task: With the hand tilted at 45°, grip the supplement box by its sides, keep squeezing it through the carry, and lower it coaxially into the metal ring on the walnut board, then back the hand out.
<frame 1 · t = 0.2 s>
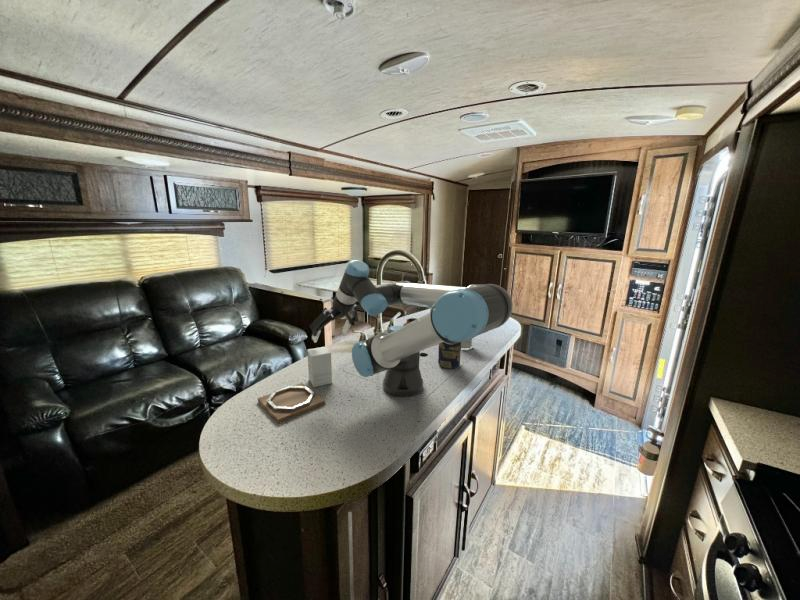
hand: (329, 336, 127), 15 cm above the counter, tool tilted 35°, fingers open, 13 cm apart
french press: (462, 347, 159), on the counter
metal ring: (291, 399, 106), resting on walnut board
walnut board: (291, 403, 107), on the counter
mug: (410, 338, 171), on the counter
canister: (448, 365, 139), on the counter
supplement box: (320, 382, 122), on the counter
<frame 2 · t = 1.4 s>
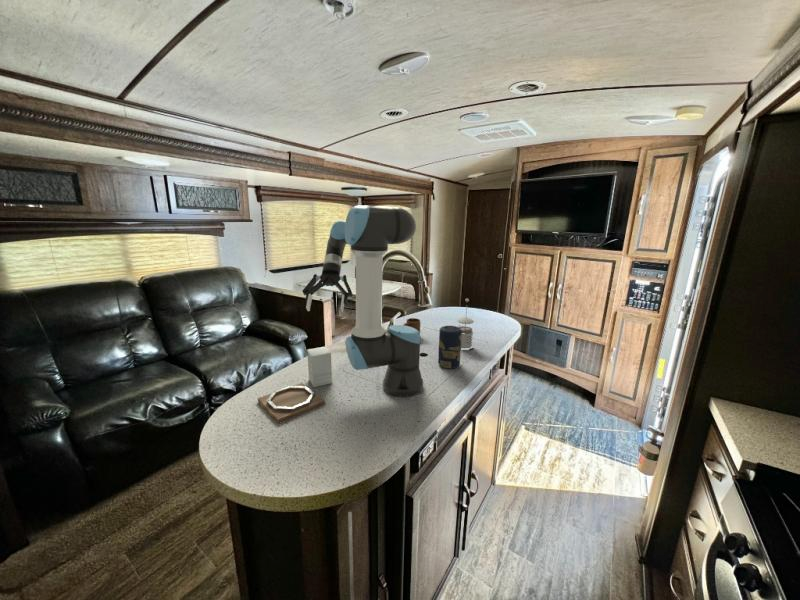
hand: (324, 309, 126), 26 cm above the counter, tool tilted 45°, fingers open, 13 cm apart
nothing on the counter moved.
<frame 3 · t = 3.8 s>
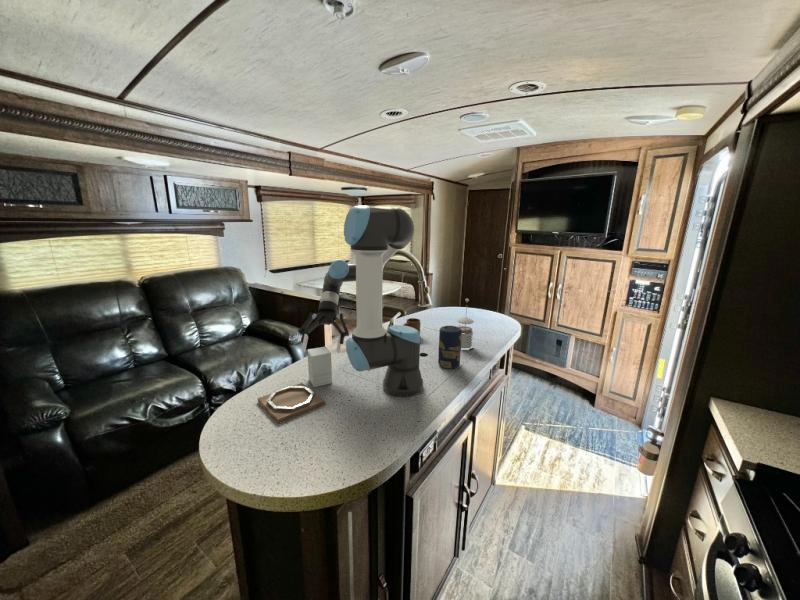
hand: (320, 351, 124), 10 cm above the counter, tool tilted 45°, fingers open, 13 cm apart
nothing on the counter moved.
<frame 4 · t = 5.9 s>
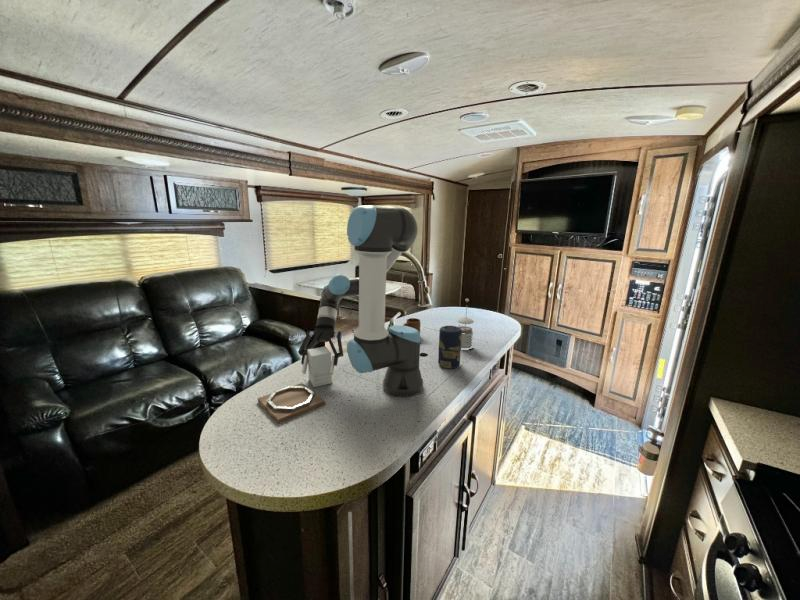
hand: (317, 373, 118), 5 cm above the counter, tool tilted 45°, fingers closed on supplement box, 10 cm apart
supplement box: (320, 381, 122), on the counter, touching gripper
everything else where it was.
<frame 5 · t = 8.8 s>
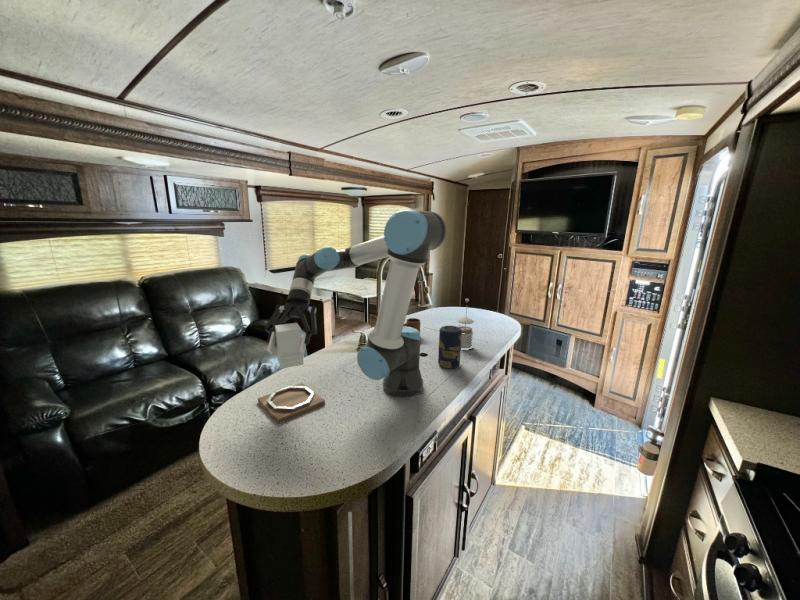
hand: (285, 352, 101), 19 cm above the counter, tool tilted 45°, fingers closed on supplement box, 10 cm apart
supplement box: (290, 363, 106), point 14 cm above the counter, touching gripper
everything else where it was.
when the fingers open (8 cm above the counter, at t = 11.6 s): supplement box drops 1 cm, resting on walnut board.
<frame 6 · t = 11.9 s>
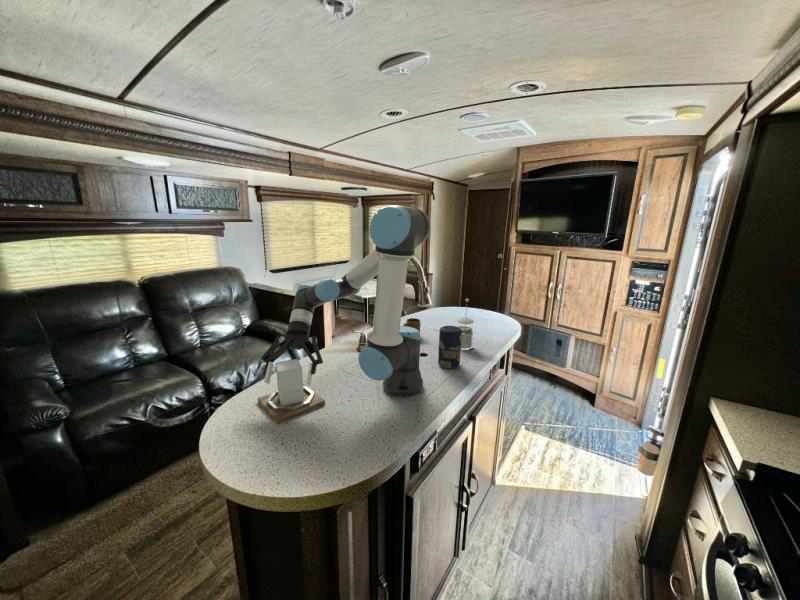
hand: (287, 383, 103), 9 cm above the counter, tool tilted 45°, fingers open, 13 cm apart
supplement box: (291, 399, 107), point 1 cm above the counter, touching walnut board
everything else where it was.
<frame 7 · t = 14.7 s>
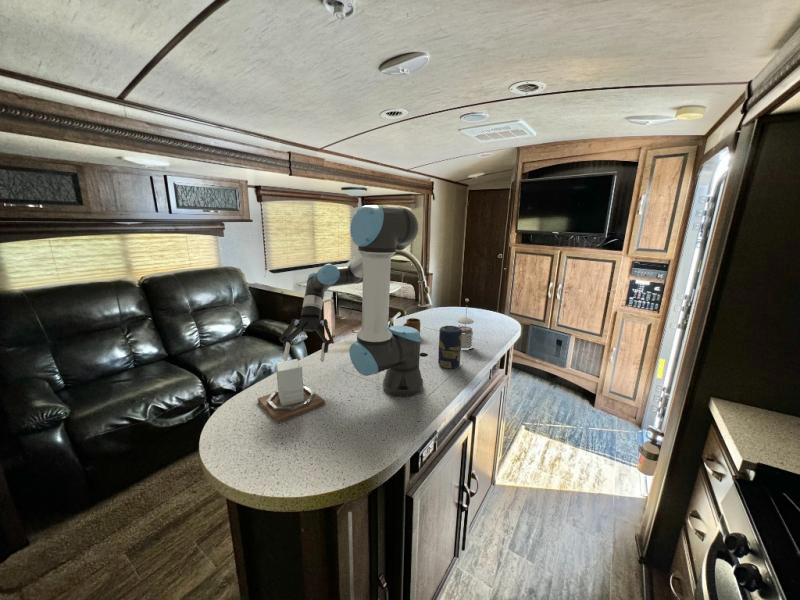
hand: (303, 360, 117), 10 cm above the counter, tool tilted 40°, fingers open, 13 cm apart
nothing on the counter moved.
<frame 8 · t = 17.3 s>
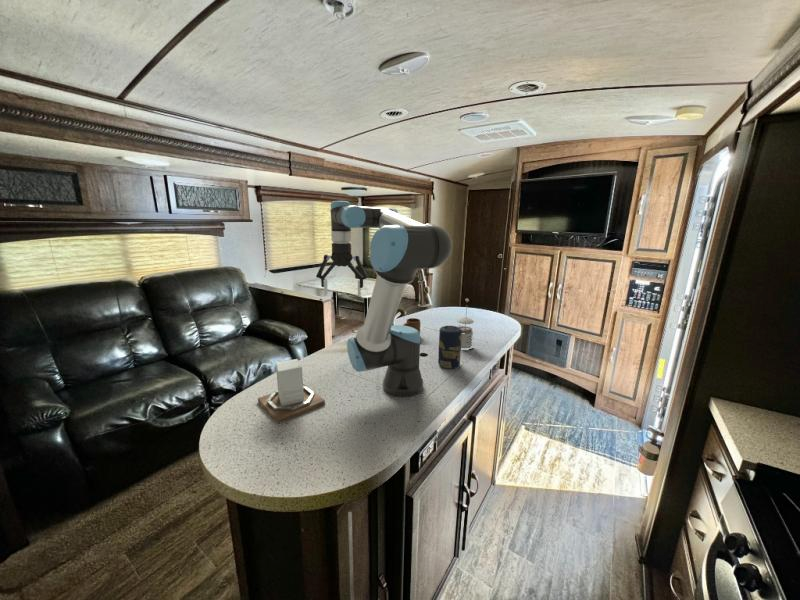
hand: (342, 295, 129), 31 cm above the counter, tool pointing down, fingers open, 13 cm apart
nothing on the counter moved.
at the end: supplement box 0.2 cm off-centre on the metal ring, point 0.0 cm above the metal ring's base; supplement box tilted 0°; the gripper is holding nothing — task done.
